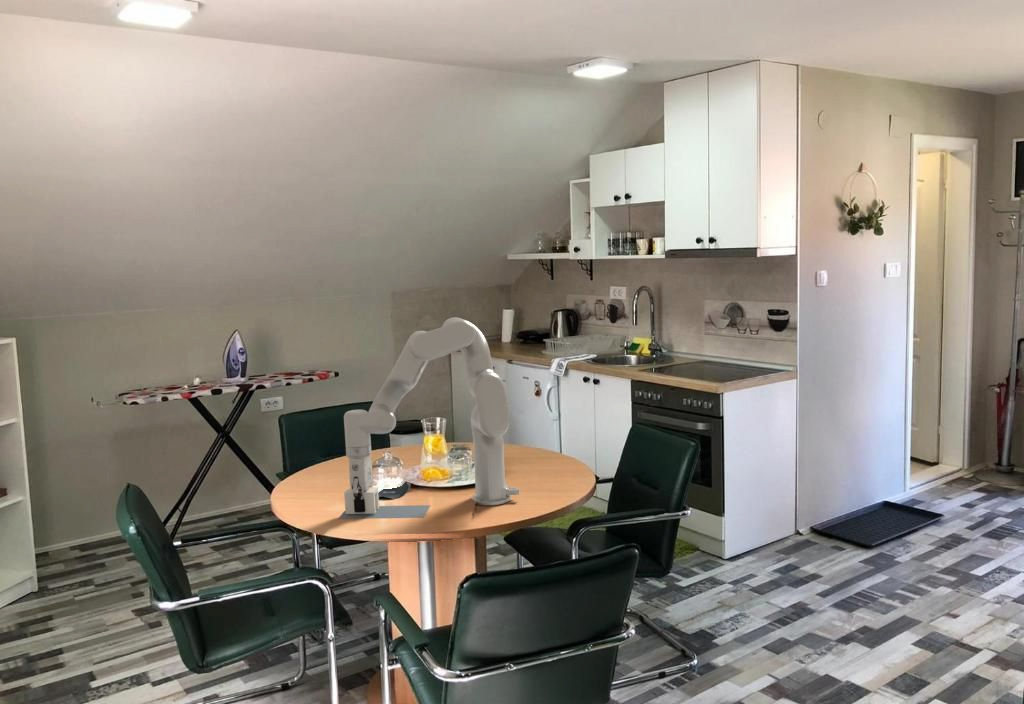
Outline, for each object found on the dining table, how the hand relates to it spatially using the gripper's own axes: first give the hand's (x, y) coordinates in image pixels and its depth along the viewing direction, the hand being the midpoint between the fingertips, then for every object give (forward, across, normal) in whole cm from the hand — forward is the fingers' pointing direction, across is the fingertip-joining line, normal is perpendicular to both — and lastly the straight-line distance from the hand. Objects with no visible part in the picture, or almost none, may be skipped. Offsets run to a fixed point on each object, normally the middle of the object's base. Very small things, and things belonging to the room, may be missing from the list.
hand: (362, 508), depth 256 cm
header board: (+2, 0, -7) cm, 7 cm away
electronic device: (+3, +20, -5) cm, 21 cm away
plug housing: (+1, 0, 0) cm, 1 cm away
